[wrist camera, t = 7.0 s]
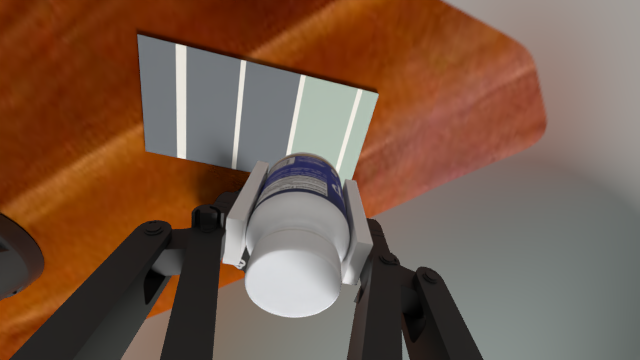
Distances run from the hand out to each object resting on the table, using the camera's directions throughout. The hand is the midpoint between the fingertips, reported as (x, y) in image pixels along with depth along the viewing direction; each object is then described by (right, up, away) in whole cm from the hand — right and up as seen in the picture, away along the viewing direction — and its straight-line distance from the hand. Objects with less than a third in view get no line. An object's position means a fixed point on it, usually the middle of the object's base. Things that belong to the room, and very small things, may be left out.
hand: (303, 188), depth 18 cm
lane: (-6, +7, +11) cm, 14 cm away
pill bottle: (0, 0, +1) cm, 1 cm away
